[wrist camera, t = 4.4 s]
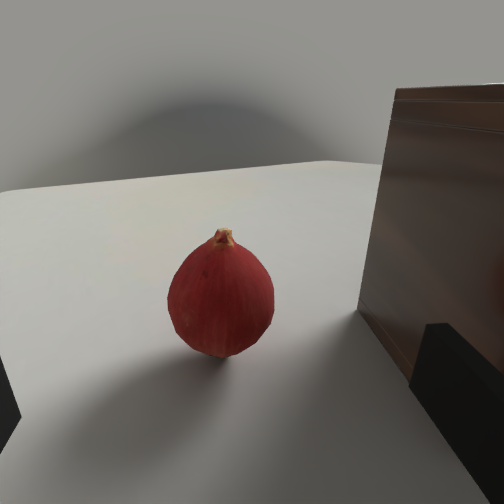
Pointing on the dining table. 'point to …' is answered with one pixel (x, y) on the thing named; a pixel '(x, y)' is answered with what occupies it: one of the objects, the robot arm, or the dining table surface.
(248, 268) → the onion
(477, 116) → the box
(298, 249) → the dining table surface
